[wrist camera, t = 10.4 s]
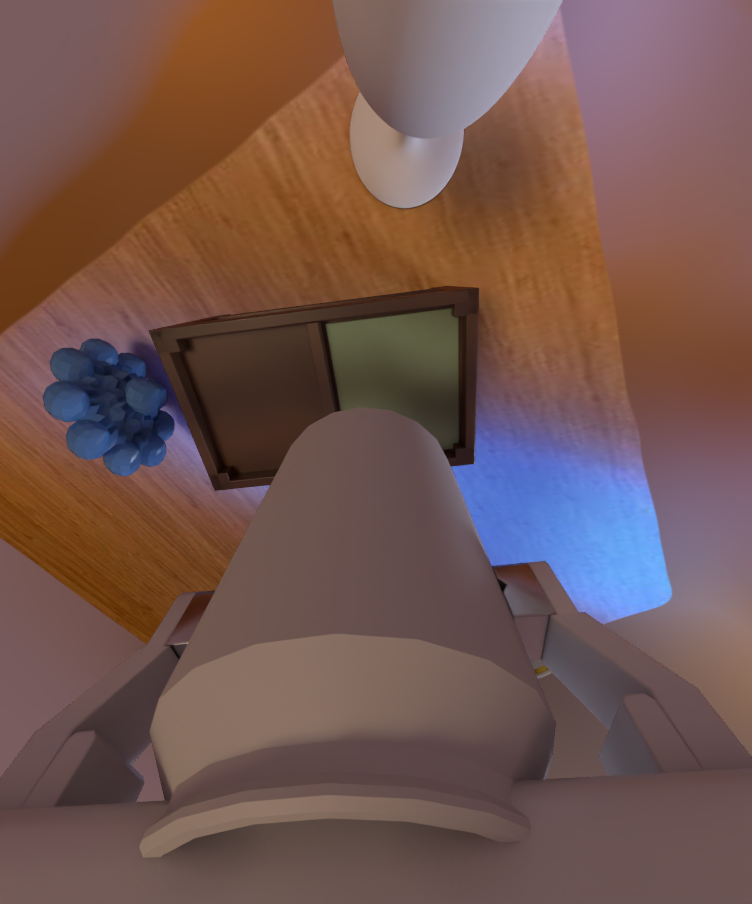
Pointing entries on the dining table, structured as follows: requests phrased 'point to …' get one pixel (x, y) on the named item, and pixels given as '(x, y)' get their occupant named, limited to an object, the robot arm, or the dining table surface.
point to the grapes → (109, 406)
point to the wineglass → (429, 82)
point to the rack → (323, 374)
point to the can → (353, 656)
